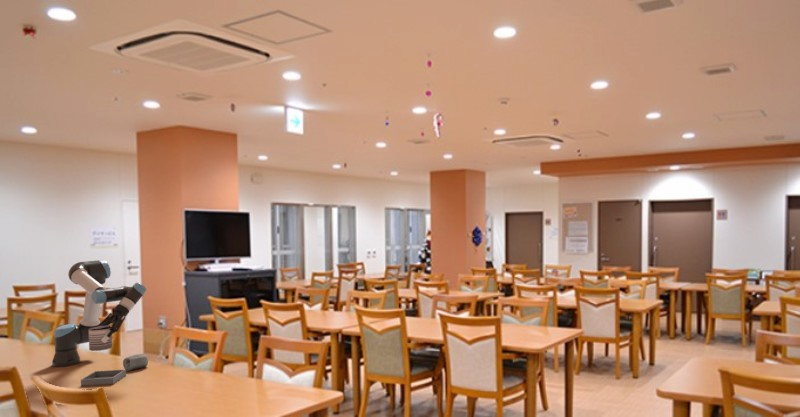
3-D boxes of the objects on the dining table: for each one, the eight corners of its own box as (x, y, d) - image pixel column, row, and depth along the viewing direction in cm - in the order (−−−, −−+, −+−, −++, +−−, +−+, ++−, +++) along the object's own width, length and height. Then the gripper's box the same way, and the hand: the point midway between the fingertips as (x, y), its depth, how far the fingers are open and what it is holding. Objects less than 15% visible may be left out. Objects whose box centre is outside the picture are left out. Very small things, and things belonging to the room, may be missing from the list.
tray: (95, 377, 324) (95, 371, 324) (126, 375, 325) (125, 369, 325) (81, 386, 307) (80, 379, 307) (113, 384, 308) (113, 377, 308)
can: (95, 352, 307) (94, 329, 307) (85, 349, 314) (84, 327, 314) (116, 347, 316) (115, 325, 316) (106, 345, 323) (105, 323, 323)
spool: (125, 367, 329) (126, 350, 334) (119, 372, 335) (121, 356, 340) (150, 368, 338) (151, 352, 343) (144, 373, 344) (144, 357, 349)
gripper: (140, 313, 321) (113, 346, 309) (118, 310, 335) (91, 342, 323) (130, 304, 317) (103, 338, 305) (108, 302, 331) (81, 334, 319)
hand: (97, 340), depth 314 cm, fingers closed on can, 11 cm apart
